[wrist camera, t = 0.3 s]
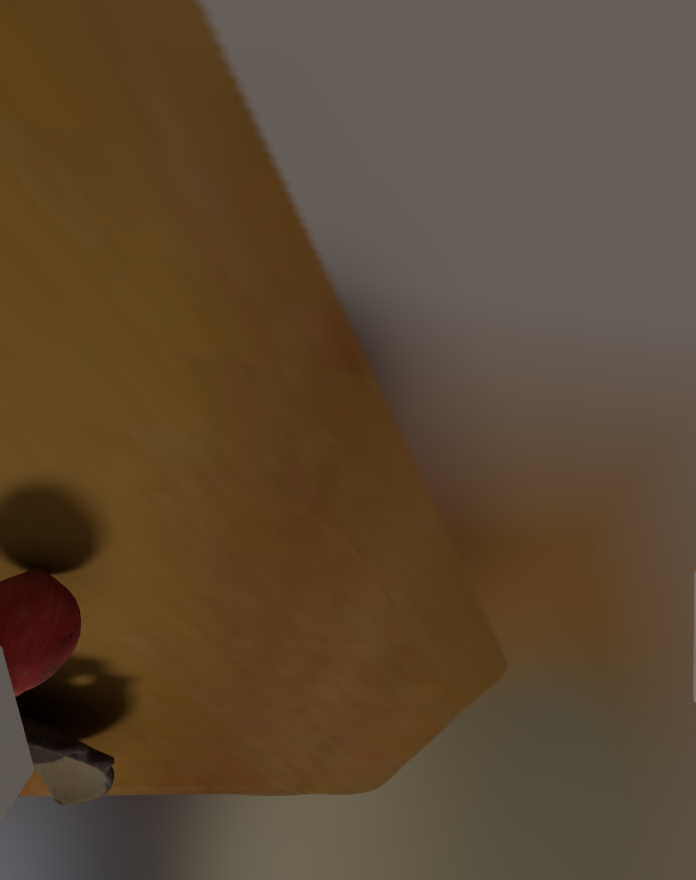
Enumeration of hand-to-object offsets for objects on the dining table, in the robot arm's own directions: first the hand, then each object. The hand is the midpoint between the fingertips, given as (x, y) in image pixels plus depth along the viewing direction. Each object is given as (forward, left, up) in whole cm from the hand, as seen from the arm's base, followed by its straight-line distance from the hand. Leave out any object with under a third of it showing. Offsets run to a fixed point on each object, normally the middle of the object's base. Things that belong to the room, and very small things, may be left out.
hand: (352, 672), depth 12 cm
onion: (+20, -20, -16) cm, 32 cm away
